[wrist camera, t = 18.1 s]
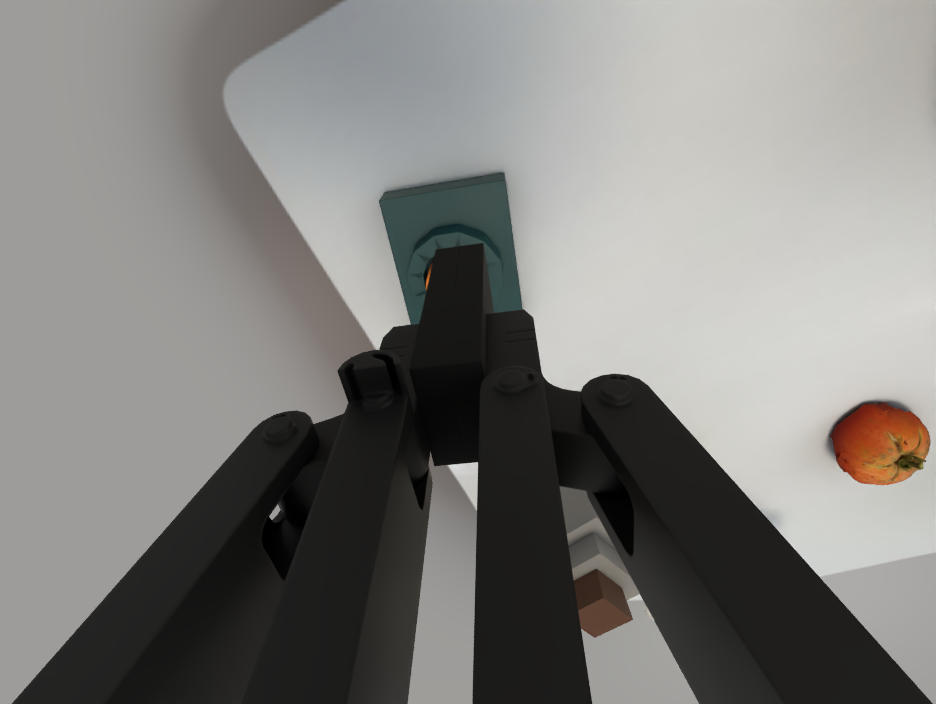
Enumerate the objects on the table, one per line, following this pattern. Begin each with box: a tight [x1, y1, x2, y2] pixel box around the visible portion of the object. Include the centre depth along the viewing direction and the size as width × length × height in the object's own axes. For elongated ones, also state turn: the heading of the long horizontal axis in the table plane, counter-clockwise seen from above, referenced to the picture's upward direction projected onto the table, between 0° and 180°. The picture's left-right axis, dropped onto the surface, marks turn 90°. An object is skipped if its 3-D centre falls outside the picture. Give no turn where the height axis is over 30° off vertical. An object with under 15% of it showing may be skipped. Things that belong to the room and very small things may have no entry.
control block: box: [379, 173, 522, 325], centre depth 40 cm, size 12×9×4 cm
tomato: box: [830, 402, 930, 485], centre depth 48 cm, size 8×7×7 cm
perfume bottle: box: [560, 486, 640, 637], centre depth 43 cm, size 7×7×18 cm
